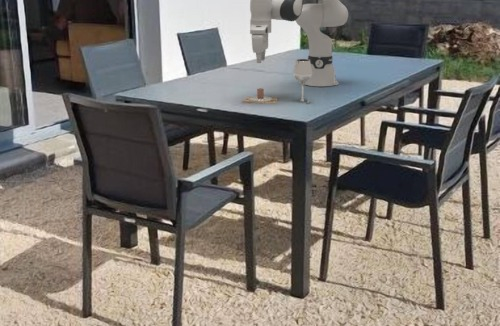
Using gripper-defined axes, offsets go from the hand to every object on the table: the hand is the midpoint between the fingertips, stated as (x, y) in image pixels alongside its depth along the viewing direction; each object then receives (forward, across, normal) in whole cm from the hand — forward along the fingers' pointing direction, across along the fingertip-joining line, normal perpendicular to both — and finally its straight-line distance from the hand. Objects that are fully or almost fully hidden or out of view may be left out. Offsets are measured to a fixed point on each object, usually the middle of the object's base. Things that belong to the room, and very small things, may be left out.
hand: (260, 61), depth 272 cm
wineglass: (+17, -2, +18) cm, 25 cm away
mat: (+17, -1, 0) cm, 17 cm away
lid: (+17, -1, 0) cm, 17 cm away
